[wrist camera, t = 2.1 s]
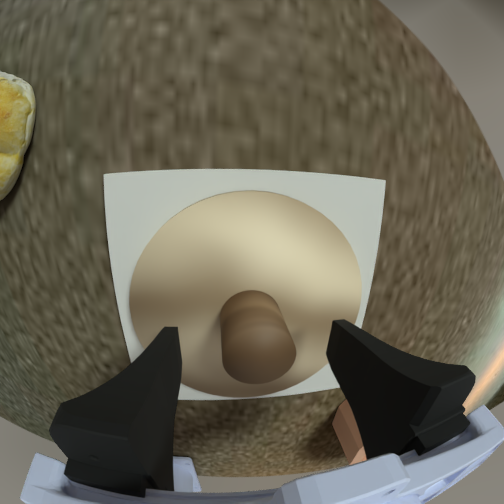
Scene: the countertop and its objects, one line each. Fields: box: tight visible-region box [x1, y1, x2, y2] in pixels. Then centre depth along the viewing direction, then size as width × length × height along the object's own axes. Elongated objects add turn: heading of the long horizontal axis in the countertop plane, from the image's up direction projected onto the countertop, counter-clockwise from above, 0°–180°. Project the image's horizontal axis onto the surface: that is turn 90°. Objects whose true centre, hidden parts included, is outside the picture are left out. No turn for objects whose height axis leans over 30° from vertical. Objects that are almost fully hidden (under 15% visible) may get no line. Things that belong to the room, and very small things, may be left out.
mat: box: [104, 169, 386, 400], centre depth 15 cm, size 15×15×1 cm
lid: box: [129, 190, 362, 398], centre depth 13 cm, size 13×13×4 cm
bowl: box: [332, 399, 367, 465], centre depth 19 cm, size 10×10×5 cm
